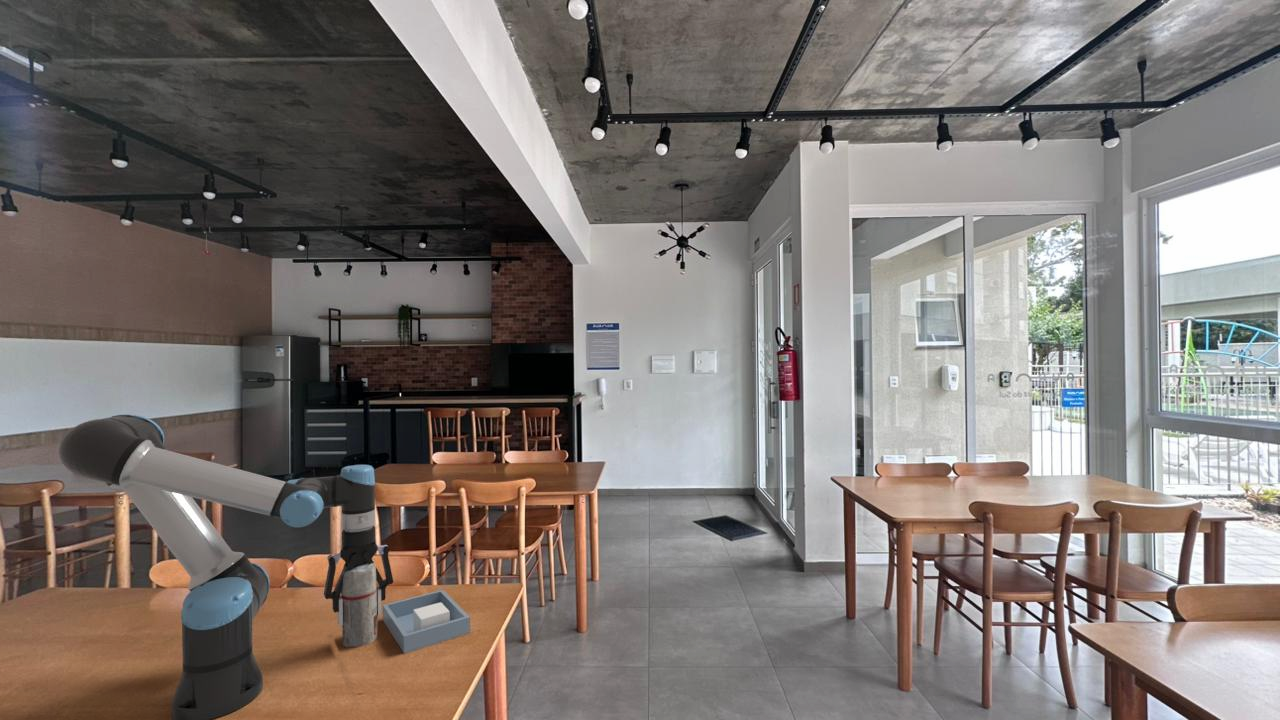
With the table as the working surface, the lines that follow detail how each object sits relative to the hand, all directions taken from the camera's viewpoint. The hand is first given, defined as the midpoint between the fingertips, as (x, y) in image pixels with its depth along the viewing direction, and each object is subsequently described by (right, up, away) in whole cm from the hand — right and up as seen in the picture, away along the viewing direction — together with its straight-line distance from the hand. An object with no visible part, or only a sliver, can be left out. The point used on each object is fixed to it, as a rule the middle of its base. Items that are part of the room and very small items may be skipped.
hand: (359, 618), depth 138 cm
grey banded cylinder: (0, -6, 0) cm, 6 cm away
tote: (+14, -6, +7) cm, 17 cm away
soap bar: (+17, -5, +2) cm, 18 cm away
